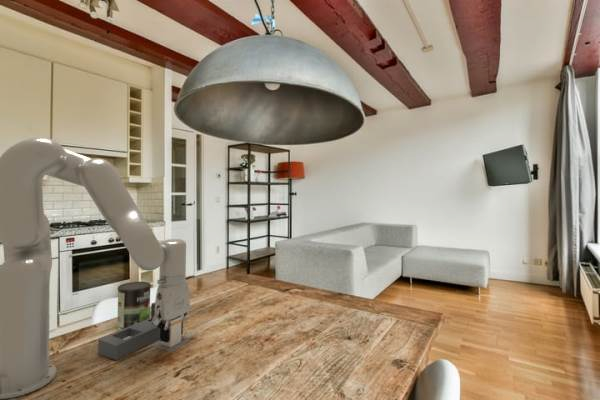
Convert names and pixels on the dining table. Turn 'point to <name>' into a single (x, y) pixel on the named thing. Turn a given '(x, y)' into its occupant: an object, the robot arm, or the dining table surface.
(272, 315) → the dining table surface
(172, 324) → the plug
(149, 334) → the dark grey socket base
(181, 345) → the mat
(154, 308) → the twin plug
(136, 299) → the coffee can
